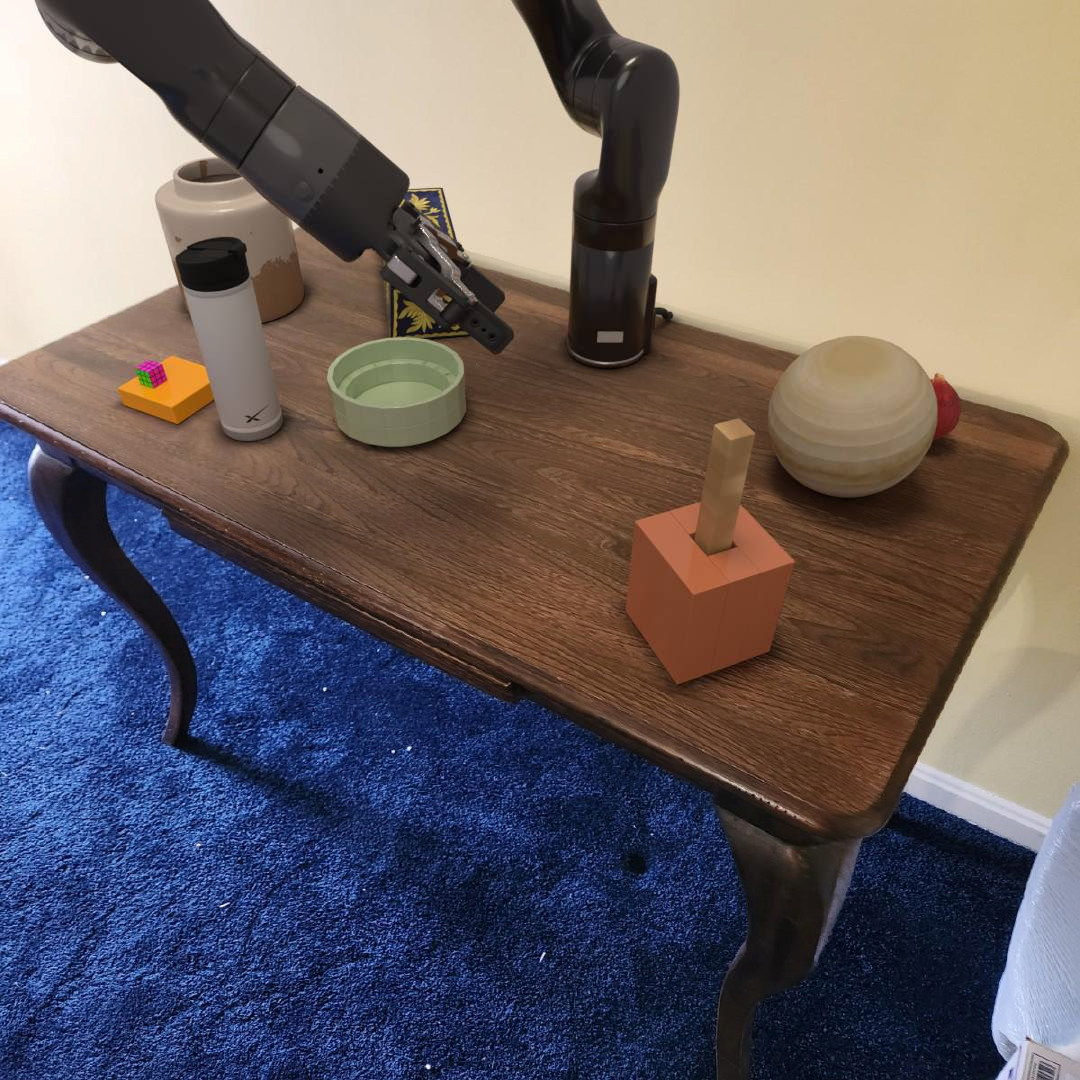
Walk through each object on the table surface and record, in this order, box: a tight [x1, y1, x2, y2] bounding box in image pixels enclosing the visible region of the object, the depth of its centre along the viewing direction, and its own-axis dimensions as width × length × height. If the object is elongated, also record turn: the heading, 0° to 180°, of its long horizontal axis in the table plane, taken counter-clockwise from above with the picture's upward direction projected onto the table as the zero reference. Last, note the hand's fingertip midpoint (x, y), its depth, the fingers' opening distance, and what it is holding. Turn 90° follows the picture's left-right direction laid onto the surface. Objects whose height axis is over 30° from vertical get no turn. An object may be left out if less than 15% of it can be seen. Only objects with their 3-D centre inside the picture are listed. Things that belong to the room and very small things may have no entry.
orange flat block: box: [117, 355, 215, 425], centre depth 94 cm, size 8×8×4 cm
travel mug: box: [175, 237, 284, 442], centre depth 85 cm, size 6×7×20 cm
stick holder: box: [624, 501, 796, 686], centre depth 67 cm, size 9×9×10 cm
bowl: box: [326, 337, 467, 448], centre depth 92 cm, size 14×14×6 cm
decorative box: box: [380, 187, 470, 340], centre depth 114 cm, size 11×30×9 cm, turn 10°
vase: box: [154, 156, 305, 324], centre depth 108 cm, size 15×15×17 cm
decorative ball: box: [766, 335, 937, 499], centre depth 81 cm, size 15×15×15 cm
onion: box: [930, 372, 962, 441], centre depth 88 cm, size 6×6×8 cm
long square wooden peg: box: [694, 417, 756, 557], centre depth 64 cm, size 2×2×20 cm
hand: (502, 323), depth 66 cm, fingers open, 8 cm apart
